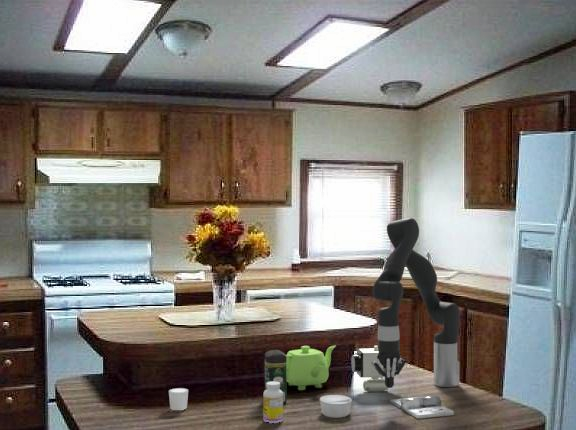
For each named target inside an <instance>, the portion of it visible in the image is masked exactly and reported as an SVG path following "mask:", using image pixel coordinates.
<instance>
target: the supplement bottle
mask: <svg viewBox="0 0 576 430" xmlns="http://www.w3.org/2000/svg"><path fill="white" fill-rule="evenodd" d="M266 387H267V390H265V389H264V391H263V395H262V397H263V398H262V399H263V405H262V407H263V408H262V409H263V410H262V416H263V421H264V422H265V423H266V422H269V423H268V424H272V423H274V424H279V422H280V423H282V422H283V420H284V403H283V392H282V391H281V390H280V382H276V381H271V382H267V383H266Z"/></svg>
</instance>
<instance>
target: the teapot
mask: <svg viewBox="0 0 576 430" xmlns="http://www.w3.org/2000/svg"><path fill="white" fill-rule="evenodd" d="M336 347H337V345H331V346H329V347H327V349H326V352H325V355H324V352H322V351H321V350H318V349H315V348H311V347H310V346H309V345H302V346H300V349H292V350H289V351H288V352H287V354H285V355H286V356H287V357H286V358H287V368H286V374H287V383H288V386H289V387H290V386H292V387H293V386H294V387H295V386H297V391H305V390H306V388H307V386H314V388H316V389H322V388H323V384H324V383H326V382H327V380H328V378H329V374H330V372H329V368H330V366H331V361H332V356H331V355H332V352H333V350H334V349H335V348H336Z"/></svg>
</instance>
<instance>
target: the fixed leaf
mask: <svg viewBox="0 0 576 430" xmlns="http://www.w3.org/2000/svg"><path fill="white" fill-rule="evenodd" d="M417 397H418V396H415V397H414V396H413V397H412V398H417ZM420 397H421V398H422V400H423V407H429V406H439V405H442V399H441V397H440V396H439V395H433V396H432V395H431V396H420ZM407 398H408V397H405V398H404V397H403V398H395V399H394V398H393V399H390V400H389V403H390V404H392V405H393V406H395V407H396V408H398V409H400V410H402V408H401V400H402V399H407Z"/></svg>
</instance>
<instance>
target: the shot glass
mask: <svg viewBox="0 0 576 430" xmlns="http://www.w3.org/2000/svg"><path fill="white" fill-rule="evenodd" d="M168 396H169V398H168V399H169V406H170V407H169V409H172V410H184V409H186V408H187V407H188V400H189V399H188V397H189V389H187V388H184V387H178V388H172V389H171V388H170V389H169V390H168ZM187 409H188V408H187Z"/></svg>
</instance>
